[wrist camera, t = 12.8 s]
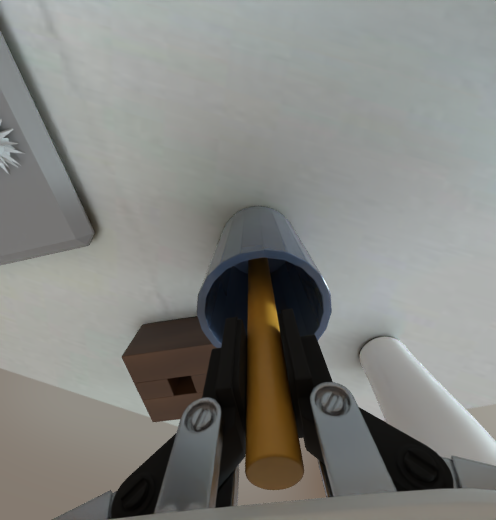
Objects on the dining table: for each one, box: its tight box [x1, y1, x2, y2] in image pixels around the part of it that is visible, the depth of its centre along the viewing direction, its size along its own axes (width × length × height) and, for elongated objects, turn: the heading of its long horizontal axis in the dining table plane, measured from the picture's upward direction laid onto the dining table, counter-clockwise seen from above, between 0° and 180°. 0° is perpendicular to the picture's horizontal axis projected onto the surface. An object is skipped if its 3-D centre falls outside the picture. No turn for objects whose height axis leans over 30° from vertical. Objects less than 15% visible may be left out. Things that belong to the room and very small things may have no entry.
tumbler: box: [197, 206, 332, 348], centre depth 19 cm, size 7×7×12 cm
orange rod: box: [245, 257, 304, 490], centre depth 15 cm, size 2×2×17 cm
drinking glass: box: [359, 337, 496, 466], centre depth 23 cm, size 7×7×15 cm
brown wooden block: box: [122, 317, 216, 422], centre depth 28 cm, size 9×15×5 cm, turn 100°
